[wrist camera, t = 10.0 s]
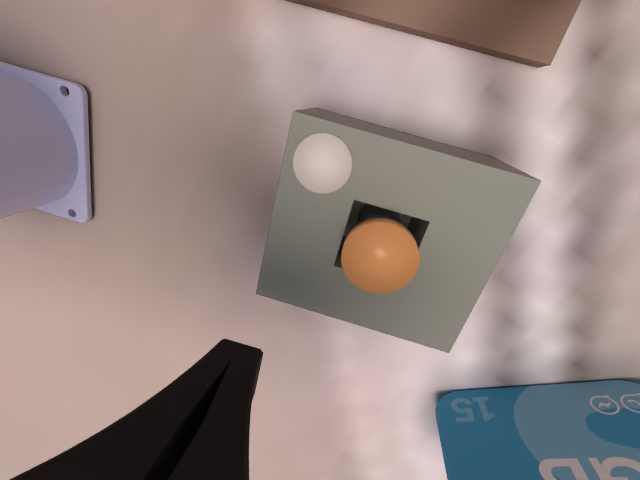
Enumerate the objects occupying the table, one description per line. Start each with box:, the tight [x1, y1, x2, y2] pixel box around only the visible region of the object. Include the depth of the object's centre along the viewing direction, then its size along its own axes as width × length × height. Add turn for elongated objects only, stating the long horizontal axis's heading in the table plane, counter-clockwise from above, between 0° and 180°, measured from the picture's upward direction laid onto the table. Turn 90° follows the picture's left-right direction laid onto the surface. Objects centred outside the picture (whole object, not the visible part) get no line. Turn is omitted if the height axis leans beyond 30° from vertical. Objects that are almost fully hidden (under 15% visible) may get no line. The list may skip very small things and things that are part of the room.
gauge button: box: [341, 203, 420, 293], centre depth 14 cm, size 3×3×5 cm
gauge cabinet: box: [256, 108, 541, 353], centre depth 16 cm, size 9×8×5 cm
